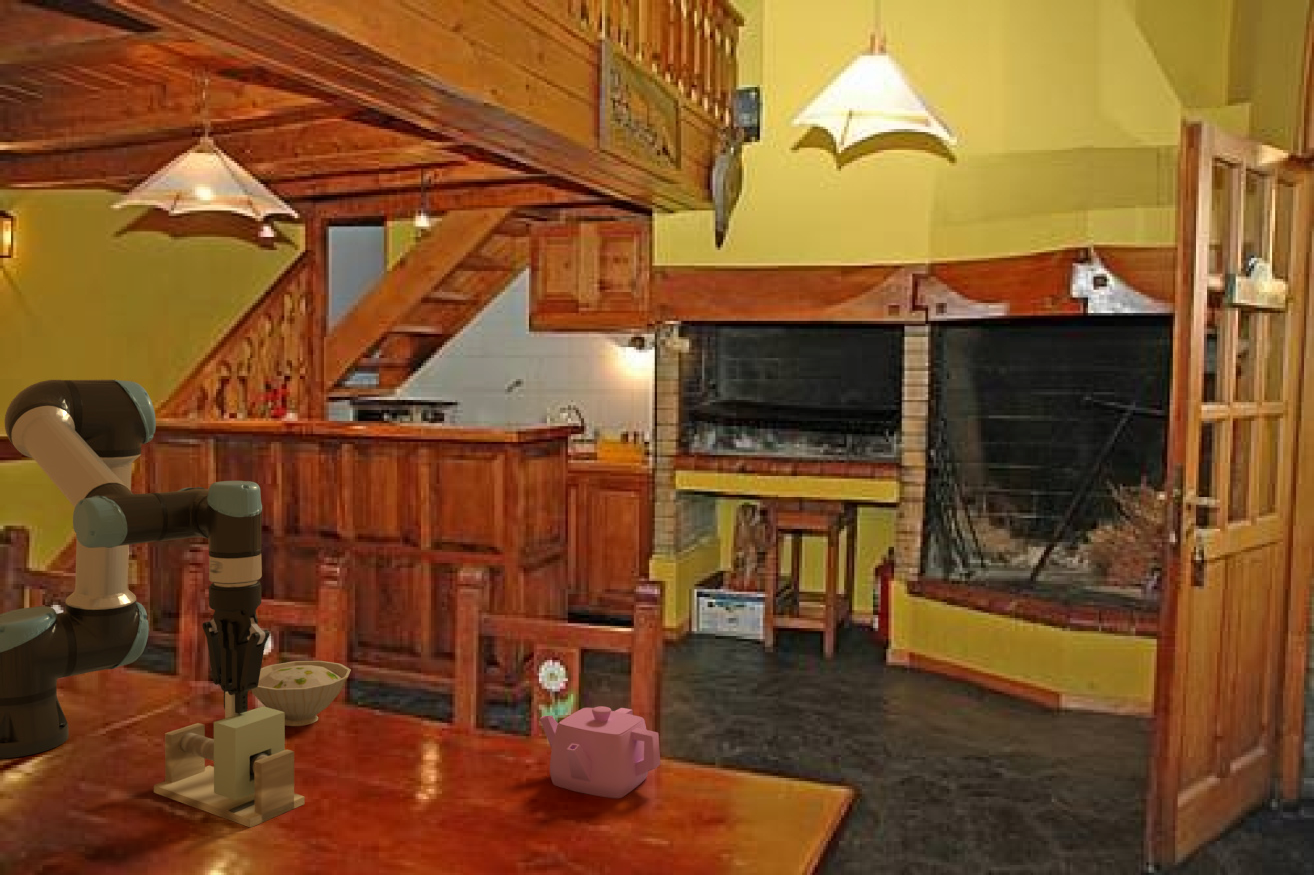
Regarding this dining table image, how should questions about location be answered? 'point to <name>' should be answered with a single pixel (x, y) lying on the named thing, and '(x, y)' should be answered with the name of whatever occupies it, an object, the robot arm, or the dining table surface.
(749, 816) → the dining table surface
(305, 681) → the bowl
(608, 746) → the teakettle
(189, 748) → the rail stand
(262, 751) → the square sliding block
